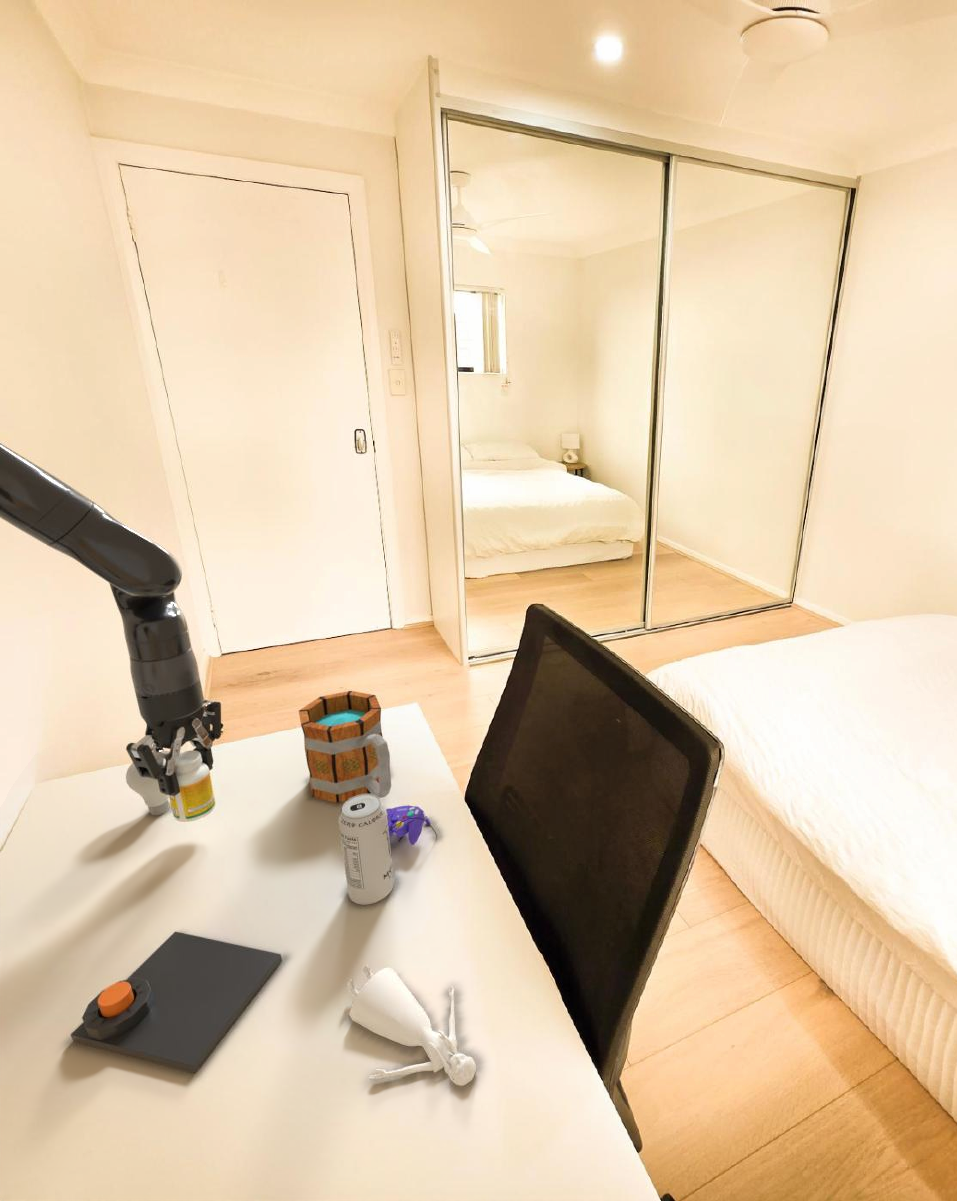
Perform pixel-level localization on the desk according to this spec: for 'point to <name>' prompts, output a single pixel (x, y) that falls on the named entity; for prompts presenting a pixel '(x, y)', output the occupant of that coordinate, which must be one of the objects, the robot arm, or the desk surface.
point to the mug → (345, 746)
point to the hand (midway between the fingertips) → (188, 781)
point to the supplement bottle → (192, 788)
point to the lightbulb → (148, 790)
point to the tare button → (115, 999)
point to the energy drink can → (366, 849)
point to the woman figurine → (407, 1025)
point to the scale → (181, 1002)
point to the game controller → (406, 822)
